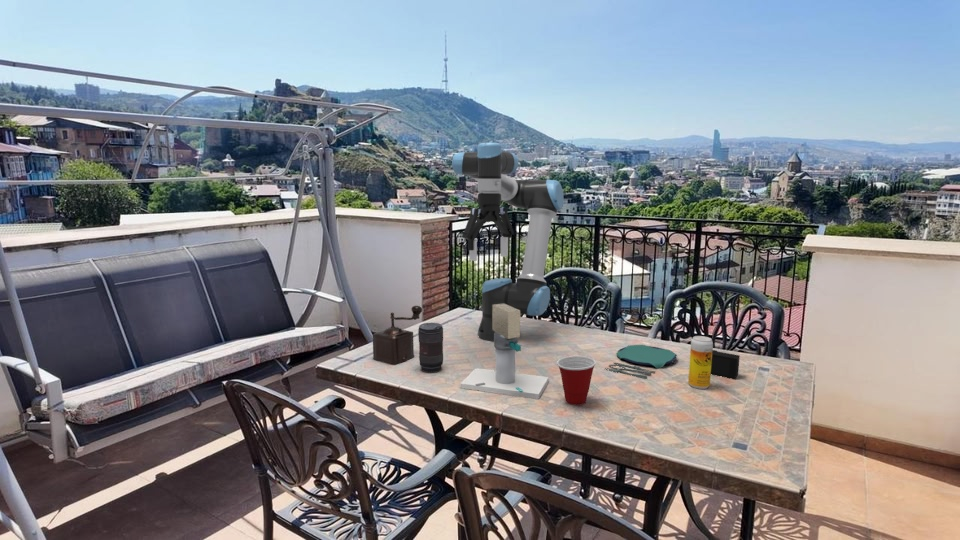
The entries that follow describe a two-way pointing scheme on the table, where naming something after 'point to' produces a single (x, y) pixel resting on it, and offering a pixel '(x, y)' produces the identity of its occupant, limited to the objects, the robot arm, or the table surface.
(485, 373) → the base
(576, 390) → the plastic cup
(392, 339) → the manual coffee grinder
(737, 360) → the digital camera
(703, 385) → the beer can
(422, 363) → the camera lens
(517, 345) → the beige boxy piece
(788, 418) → the table surface
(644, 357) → the cutlery set
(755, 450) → the table surface
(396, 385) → the table surface
